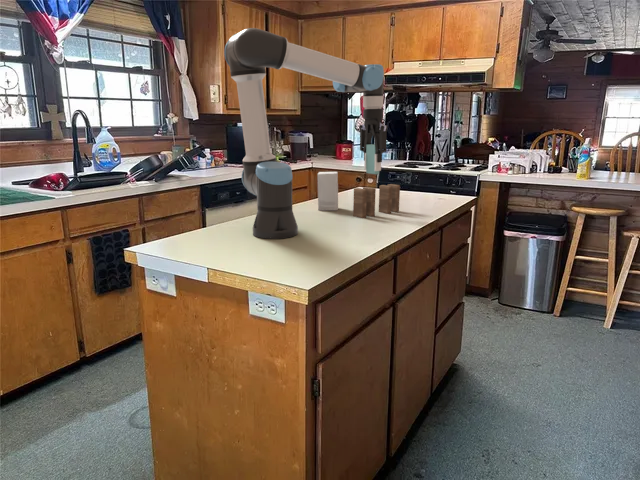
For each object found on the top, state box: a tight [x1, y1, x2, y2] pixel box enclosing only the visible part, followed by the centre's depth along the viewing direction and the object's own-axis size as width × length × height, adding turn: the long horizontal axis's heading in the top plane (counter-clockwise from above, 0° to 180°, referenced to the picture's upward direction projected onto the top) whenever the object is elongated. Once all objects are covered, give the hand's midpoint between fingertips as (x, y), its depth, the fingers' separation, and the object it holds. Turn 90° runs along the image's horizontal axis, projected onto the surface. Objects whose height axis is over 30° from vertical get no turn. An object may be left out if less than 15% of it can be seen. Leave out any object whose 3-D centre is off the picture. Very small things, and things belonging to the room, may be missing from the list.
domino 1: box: [352, 187, 367, 219], centre depth 186 cm, size 2×5×11 cm, turn 37°
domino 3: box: [378, 184, 392, 215], centre depth 194 cm, size 2×5×11 cm, turn 37°
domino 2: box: [362, 186, 377, 218], centre depth 188 cm, size 2×5×11 cm, turn 37°
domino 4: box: [387, 183, 401, 213], centre depth 197 cm, size 2×5×11 cm, turn 37°
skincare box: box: [316, 171, 339, 211], centre depth 200 cm, size 8×7×16 cm
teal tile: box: [365, 143, 380, 175], centre depth 185 cm, size 2×5×11 cm, turn 37°
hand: (372, 170), depth 186 cm, fingers closed on teal tile, 5 cm apart
